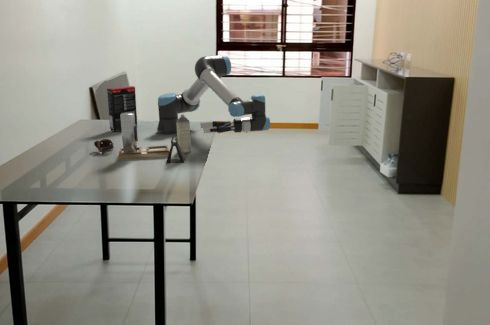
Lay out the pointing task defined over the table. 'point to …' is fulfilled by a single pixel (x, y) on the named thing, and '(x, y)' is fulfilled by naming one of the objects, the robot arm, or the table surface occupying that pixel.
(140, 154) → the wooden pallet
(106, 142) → the brown curved piece
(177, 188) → the table surface
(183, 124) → the aerosol can
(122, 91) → the graphics card box
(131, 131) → the metal canister
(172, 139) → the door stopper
